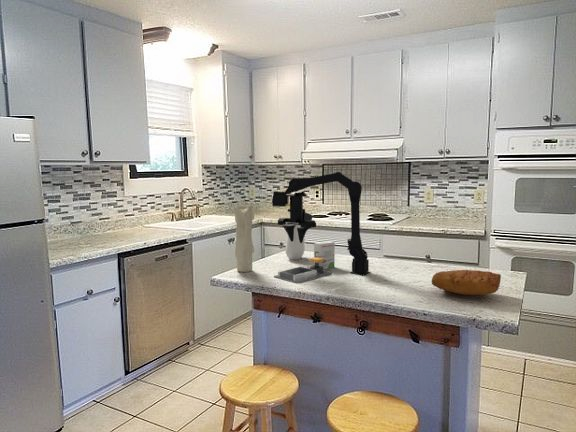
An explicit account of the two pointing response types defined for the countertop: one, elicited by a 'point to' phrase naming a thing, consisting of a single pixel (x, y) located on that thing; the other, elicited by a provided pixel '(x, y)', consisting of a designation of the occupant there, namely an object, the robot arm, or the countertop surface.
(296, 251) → the soap bottle
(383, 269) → the countertop surface
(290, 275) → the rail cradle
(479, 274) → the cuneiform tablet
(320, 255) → the ink box
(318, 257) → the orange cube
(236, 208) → the vase
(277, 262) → the countertop surface
